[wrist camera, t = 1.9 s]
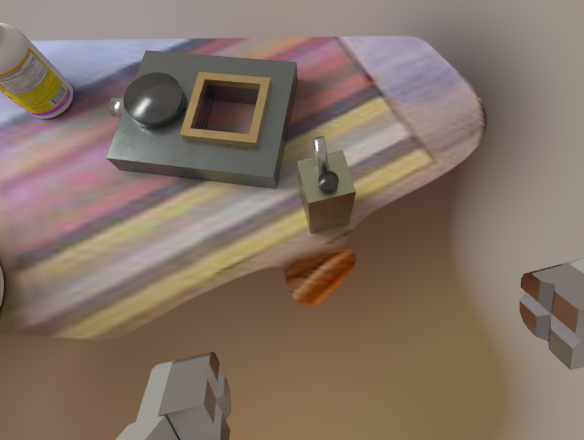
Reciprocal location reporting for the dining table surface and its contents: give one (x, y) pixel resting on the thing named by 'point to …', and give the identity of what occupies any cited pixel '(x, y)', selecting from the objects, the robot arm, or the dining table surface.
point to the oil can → (326, 188)
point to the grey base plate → (203, 118)
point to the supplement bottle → (31, 76)
